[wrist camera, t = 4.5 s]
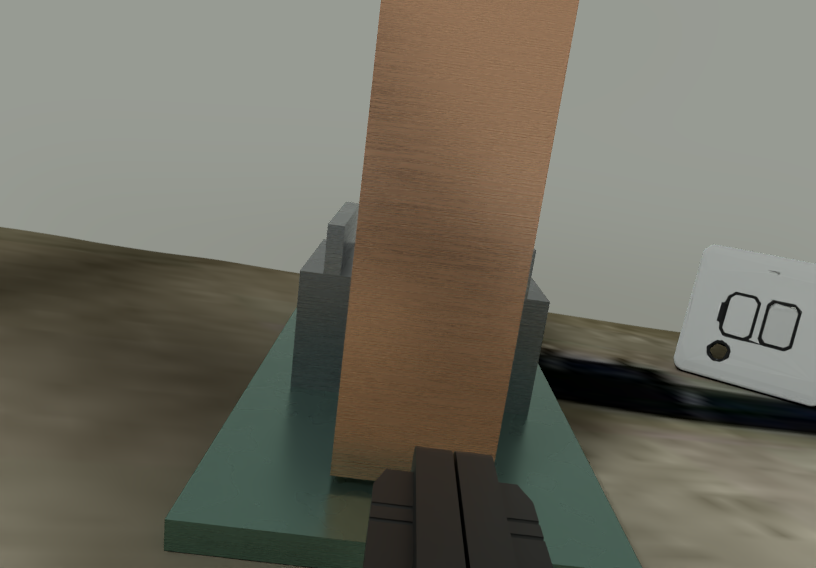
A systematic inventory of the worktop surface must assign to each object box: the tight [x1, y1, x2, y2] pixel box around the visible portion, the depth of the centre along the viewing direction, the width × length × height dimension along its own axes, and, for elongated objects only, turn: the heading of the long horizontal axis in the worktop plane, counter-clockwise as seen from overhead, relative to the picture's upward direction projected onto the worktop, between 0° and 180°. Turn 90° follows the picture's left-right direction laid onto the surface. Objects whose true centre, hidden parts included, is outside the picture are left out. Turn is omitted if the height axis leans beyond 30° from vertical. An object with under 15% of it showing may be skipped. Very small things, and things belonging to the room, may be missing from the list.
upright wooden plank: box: [330, 0, 579, 481], centre depth 27 cm, size 6×12×18 cm, turn 0°
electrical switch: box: [674, 244, 816, 406], centre depth 44 cm, size 9×5×9 cm, turn 59°
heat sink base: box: [164, 202, 642, 568], centre depth 33 cm, size 16×28×13 cm, turn 0°
